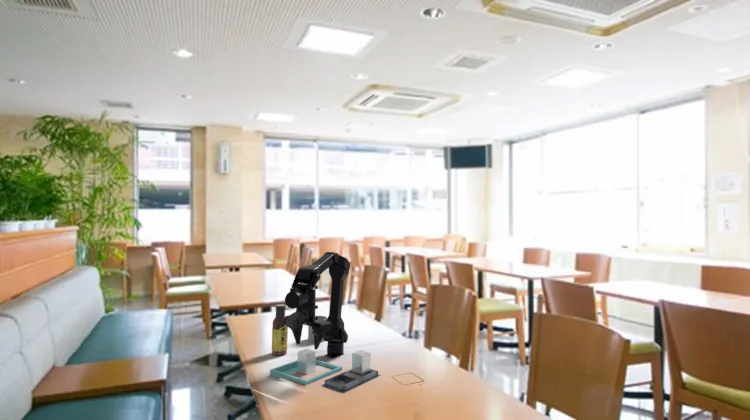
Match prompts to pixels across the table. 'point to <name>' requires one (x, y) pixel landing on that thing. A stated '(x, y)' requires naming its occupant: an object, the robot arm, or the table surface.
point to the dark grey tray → (349, 380)
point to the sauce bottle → (279, 332)
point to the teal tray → (292, 368)
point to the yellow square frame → (409, 383)
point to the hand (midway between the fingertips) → (306, 346)
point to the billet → (306, 361)
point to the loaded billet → (361, 363)
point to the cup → (310, 334)
